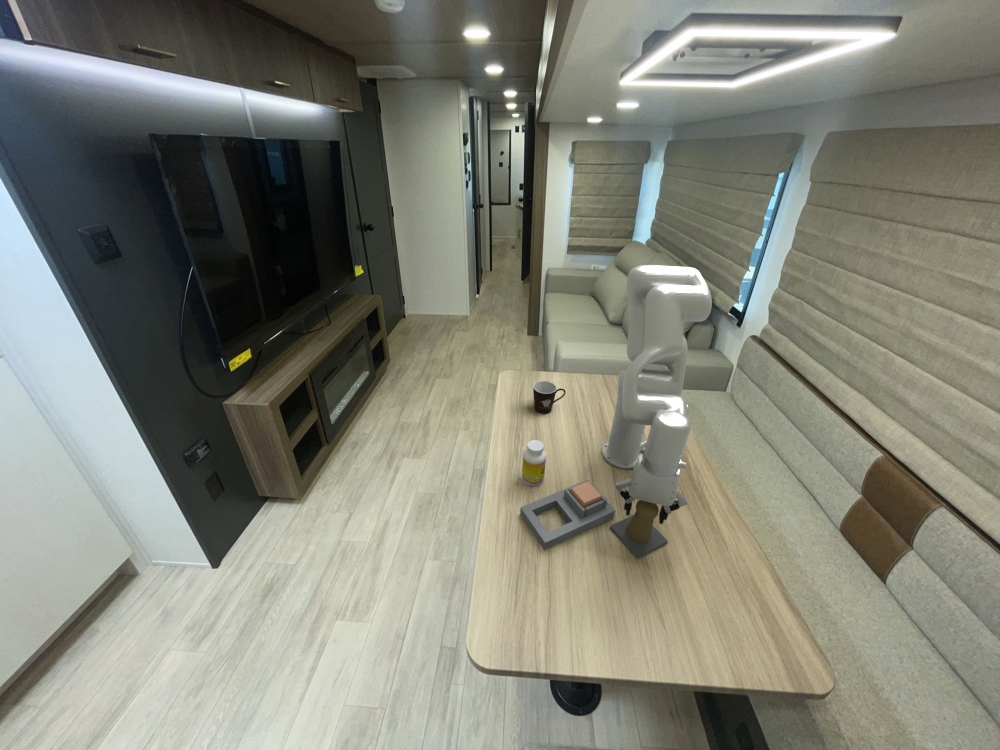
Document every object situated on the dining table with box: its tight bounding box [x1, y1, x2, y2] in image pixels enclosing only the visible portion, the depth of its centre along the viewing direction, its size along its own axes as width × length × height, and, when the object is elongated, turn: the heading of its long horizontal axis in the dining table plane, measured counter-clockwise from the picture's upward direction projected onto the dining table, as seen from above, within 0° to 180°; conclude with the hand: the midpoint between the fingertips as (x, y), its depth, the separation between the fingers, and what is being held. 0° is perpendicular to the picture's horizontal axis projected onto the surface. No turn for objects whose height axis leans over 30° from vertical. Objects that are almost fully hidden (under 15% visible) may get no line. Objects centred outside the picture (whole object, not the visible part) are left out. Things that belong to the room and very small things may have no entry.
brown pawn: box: [627, 499, 660, 543], centre depth 97 cm, size 6×6×11 cm
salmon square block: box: [571, 480, 603, 509], centre depth 105 cm, size 6×6×3 cm
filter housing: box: [519, 480, 616, 551], centre depth 104 cm, size 22×12×6 cm, turn 117°
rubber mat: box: [609, 514, 669, 560], centre depth 101 cm, size 10×10×1 cm
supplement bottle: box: [521, 439, 547, 487], centre depth 114 cm, size 7×7×13 cm
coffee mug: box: [532, 380, 566, 415], centre depth 145 cm, size 12×9×10 cm
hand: (644, 515), depth 97 cm, fingers open, 7 cm apart
